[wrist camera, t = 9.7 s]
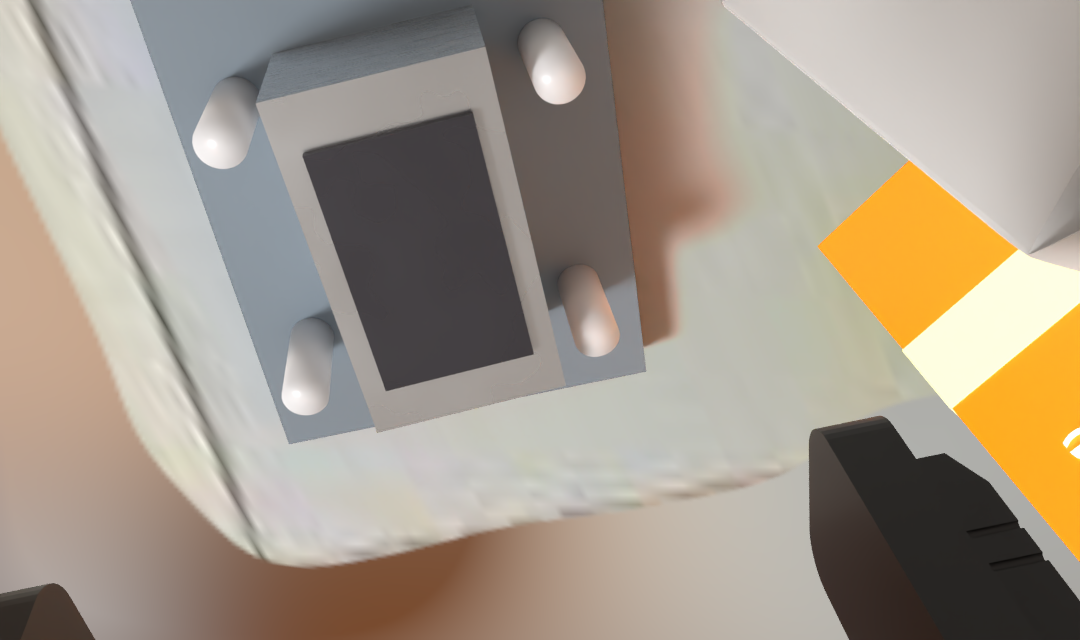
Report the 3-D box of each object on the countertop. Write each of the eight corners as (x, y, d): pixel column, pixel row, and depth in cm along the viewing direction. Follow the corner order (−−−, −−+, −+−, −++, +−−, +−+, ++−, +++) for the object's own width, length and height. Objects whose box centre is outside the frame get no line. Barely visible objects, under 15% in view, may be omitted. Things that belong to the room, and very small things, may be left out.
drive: (272, 53, 25) (254, 106, 21) (472, 4, 25) (486, 49, 21) (377, 354, 29) (377, 437, 26) (545, 312, 29) (566, 389, 26)
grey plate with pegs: (129, -42, 24) (86, -1, 21) (579, -125, 25) (613, -99, 21) (292, 420, 32) (280, 510, 28) (637, 350, 32) (669, 430, 28)
